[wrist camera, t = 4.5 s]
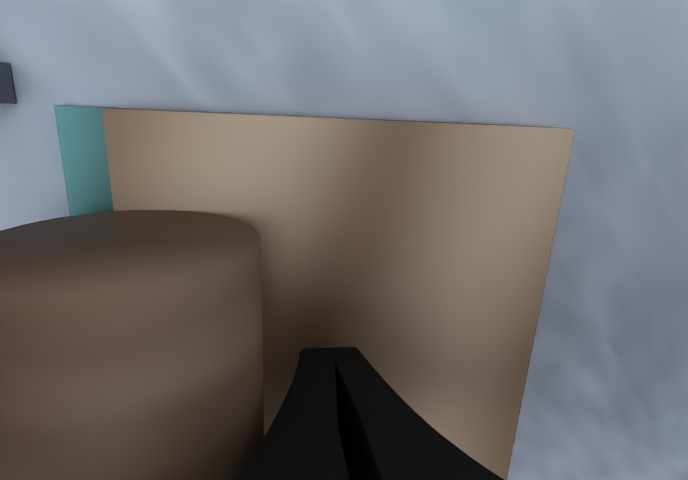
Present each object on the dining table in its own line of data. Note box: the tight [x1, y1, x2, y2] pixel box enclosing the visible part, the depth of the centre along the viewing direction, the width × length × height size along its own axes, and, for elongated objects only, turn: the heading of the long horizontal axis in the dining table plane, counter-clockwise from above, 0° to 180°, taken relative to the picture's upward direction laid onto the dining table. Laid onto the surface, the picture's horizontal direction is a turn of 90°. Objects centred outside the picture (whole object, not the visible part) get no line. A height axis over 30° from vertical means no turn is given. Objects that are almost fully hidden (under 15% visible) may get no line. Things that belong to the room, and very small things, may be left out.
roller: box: [0, 210, 264, 480], centre depth 8 cm, size 4×8×4 cm
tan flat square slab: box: [54, 105, 575, 480], centre depth 11 cm, size 11×12×1 cm
